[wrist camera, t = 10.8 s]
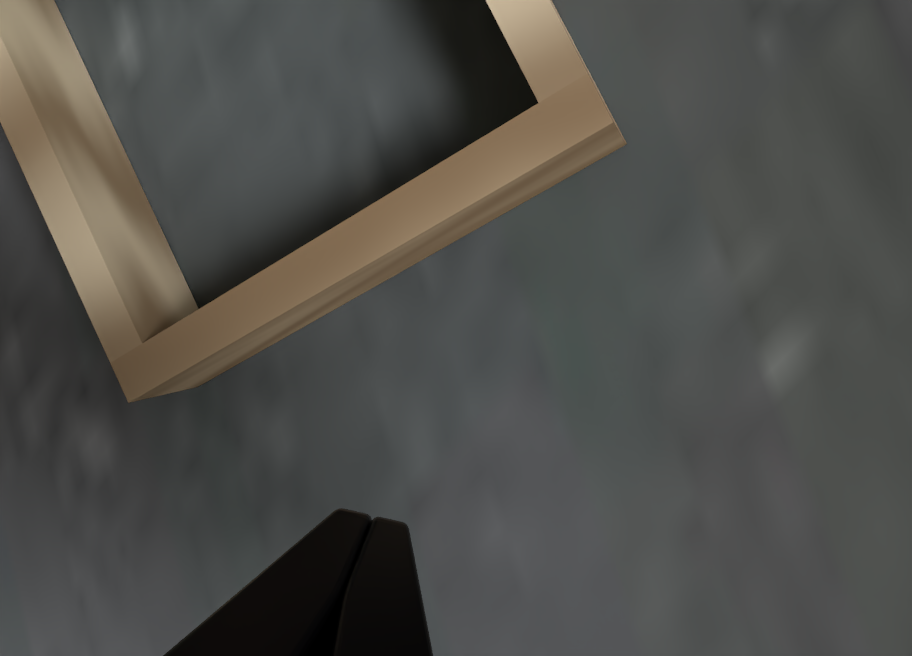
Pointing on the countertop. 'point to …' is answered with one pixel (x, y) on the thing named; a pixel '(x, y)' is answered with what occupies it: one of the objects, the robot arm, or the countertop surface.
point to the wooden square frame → (306, 269)
